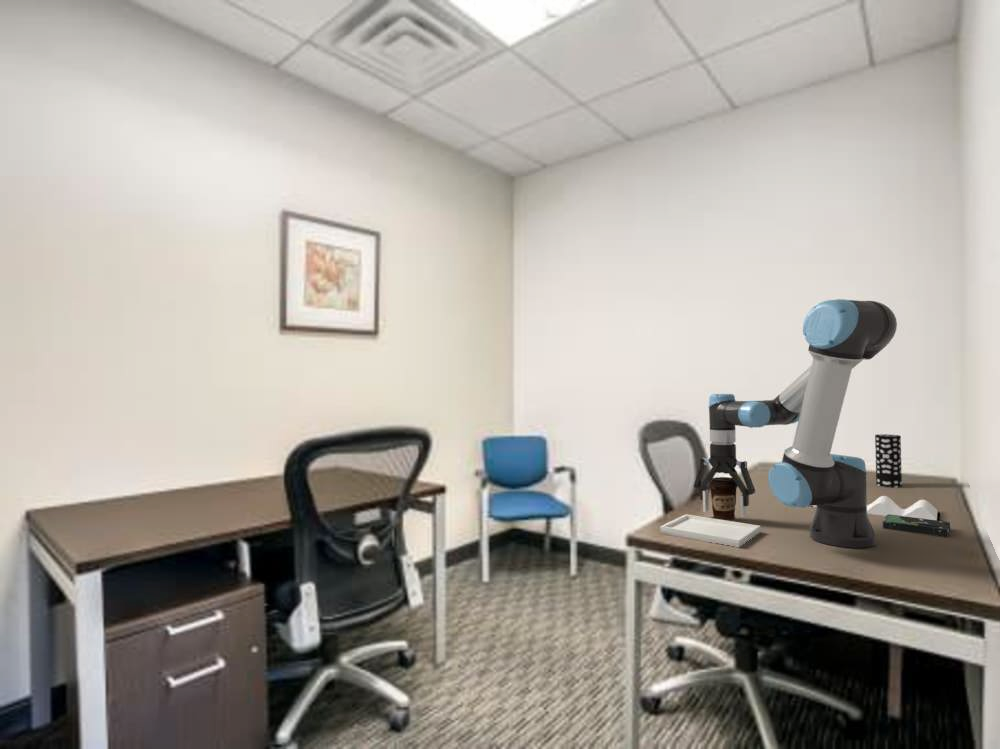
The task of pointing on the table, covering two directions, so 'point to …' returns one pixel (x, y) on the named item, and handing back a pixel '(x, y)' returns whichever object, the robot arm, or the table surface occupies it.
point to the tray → (711, 530)
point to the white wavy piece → (889, 507)
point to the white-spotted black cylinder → (888, 460)
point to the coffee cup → (723, 498)
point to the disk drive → (917, 525)
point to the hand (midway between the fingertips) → (724, 513)
